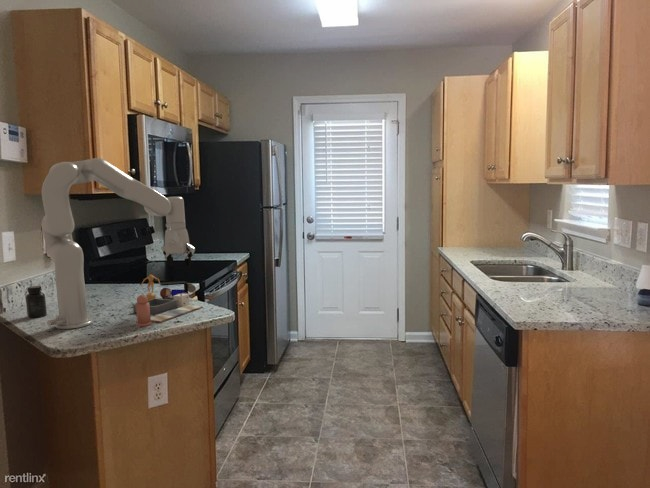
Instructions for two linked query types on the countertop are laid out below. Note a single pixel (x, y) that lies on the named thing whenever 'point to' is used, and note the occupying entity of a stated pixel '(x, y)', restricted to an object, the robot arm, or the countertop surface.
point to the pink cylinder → (143, 311)
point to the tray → (160, 305)
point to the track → (174, 313)
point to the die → (182, 299)
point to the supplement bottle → (35, 302)
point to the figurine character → (167, 292)
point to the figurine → (150, 278)
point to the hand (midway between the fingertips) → (179, 267)
